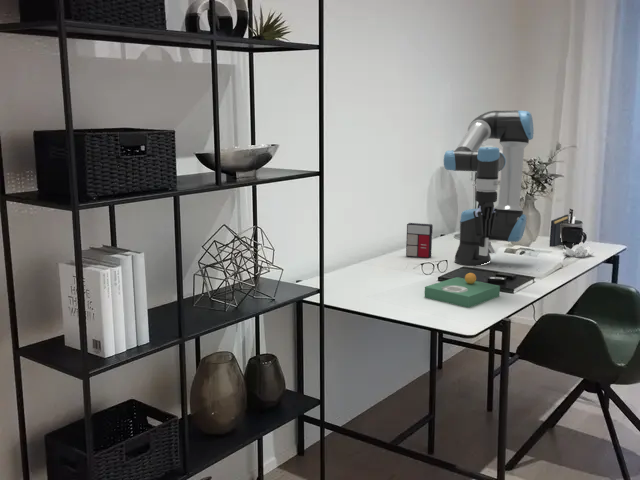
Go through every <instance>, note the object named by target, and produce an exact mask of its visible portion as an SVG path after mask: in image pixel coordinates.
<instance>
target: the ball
mask: <svg viewBox="0 0 640 480" xmlns="http://www.w3.org/2000/svg"><path fill="white" fill-rule="evenodd" d="M464 279H465V281H466V282H467V283H468V284H473V283H474V282H475V281H477V276H476V274H475V273H473V272H469V273H466V274H465V275H464Z"/></svg>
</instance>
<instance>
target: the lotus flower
mask: <svg viewBox="0 0 640 480" xmlns="http://www.w3.org/2000/svg"><path fill="white" fill-rule="evenodd" d="M562 251H563V252H562V254H563V255H565V256H566V255H567V256H566V257H572V258H578V259H579V258H587V257H588V256H591V255H592V254H594V253H595V252H591V247H590V246H585V244H584V242H583V241H581V242H579V244H575V245H573V246H572V248H569V247H567V246H566V245H565V244H564V248H562ZM590 252H591V253H590Z"/></svg>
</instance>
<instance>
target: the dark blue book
mask: <svg viewBox="0 0 640 480" xmlns="http://www.w3.org/2000/svg"><path fill="white" fill-rule="evenodd" d="M568 219H569V214H564V215H562V216H560V217H556V218H555V219H553V220H550V231H549V233H550V234H549V247H550V248H551V247H552V248H553V247H556V246H559V245H561V244H562V243H561V238H560V224H561V223H562V221H568Z"/></svg>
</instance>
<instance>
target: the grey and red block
mask: <svg viewBox="0 0 640 480" xmlns="http://www.w3.org/2000/svg"><path fill="white" fill-rule="evenodd" d="M432 241H433V224H432V223H418V222H408V223H407V224H406V242H405V244H406V247H405V248H406V250H405V256H406V257H408V258H409V257H410V258H420V259H421V258H422V259H430V258H432V250H433V249H432V248H433V247H432V245H433V242H432Z"/></svg>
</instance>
